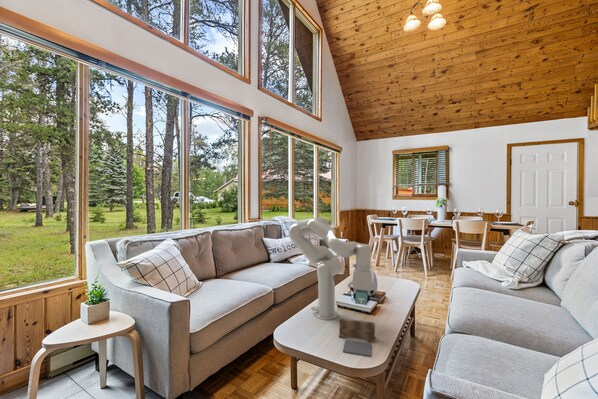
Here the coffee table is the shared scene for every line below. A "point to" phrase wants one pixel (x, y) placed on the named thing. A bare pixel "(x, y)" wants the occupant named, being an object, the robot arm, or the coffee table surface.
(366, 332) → the screen
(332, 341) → the coffee table surface
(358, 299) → the letter cube
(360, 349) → the mat
